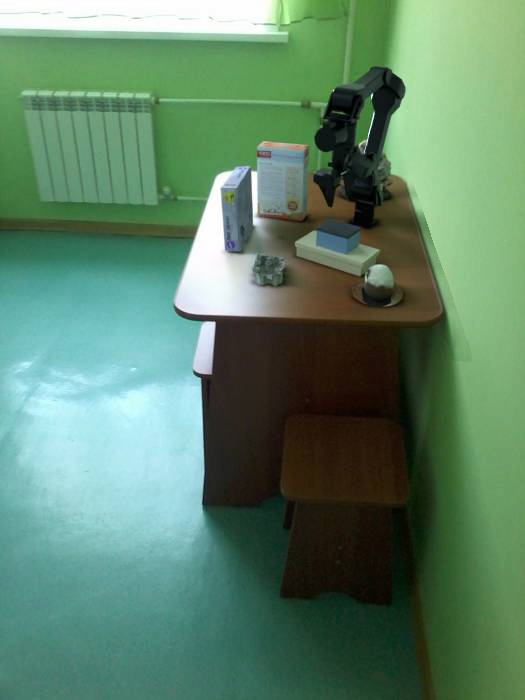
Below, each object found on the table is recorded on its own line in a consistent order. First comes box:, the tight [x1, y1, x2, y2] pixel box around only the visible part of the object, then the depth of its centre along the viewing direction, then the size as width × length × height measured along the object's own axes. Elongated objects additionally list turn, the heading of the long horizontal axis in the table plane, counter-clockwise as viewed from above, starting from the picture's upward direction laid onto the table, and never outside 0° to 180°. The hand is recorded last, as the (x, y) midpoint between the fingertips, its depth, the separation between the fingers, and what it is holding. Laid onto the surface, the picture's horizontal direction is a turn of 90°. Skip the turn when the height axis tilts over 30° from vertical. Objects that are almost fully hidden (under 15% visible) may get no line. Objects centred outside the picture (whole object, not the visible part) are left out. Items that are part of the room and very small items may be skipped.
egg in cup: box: [351, 263, 404, 308], centre depth 147 cm, size 12×10×10 cm
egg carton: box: [252, 252, 286, 287], centre depth 154 cm, size 11×8×4 cm
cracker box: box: [256, 140, 310, 222], centre depth 180 cm, size 14×6×21 cm, turn 71°
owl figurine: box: [336, 139, 393, 201], centre depth 195 cm, size 18×12×17 cm, turn 83°
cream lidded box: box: [294, 230, 381, 277], centre depth 161 cm, size 9×20×4 cm, turn 53°
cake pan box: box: [220, 165, 254, 253], centre depth 168 cm, size 19×5×18 cm, turn 169°
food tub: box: [315, 218, 362, 255], centre depth 158 cm, size 7×9×5 cm
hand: (339, 201), depth 163 cm, fingers open, 9 cm apart
